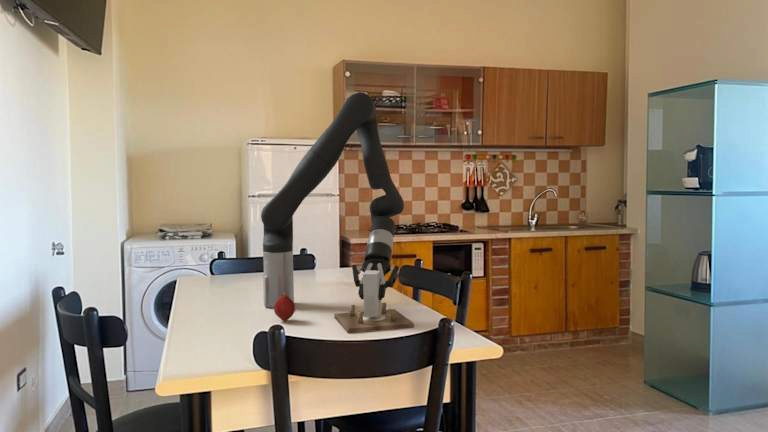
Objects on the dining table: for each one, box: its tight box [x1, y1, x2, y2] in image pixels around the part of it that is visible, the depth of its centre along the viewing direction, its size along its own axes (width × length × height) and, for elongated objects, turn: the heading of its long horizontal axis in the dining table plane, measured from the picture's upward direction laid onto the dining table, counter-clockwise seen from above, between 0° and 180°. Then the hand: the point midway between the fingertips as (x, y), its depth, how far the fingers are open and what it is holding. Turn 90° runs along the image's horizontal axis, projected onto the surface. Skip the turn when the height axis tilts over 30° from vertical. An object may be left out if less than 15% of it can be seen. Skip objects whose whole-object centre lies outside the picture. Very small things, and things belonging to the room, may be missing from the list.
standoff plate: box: [333, 302, 415, 334], centre depth 172 cm, size 18×18×4 cm
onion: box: [273, 293, 296, 322], centre depth 175 cm, size 6×6×8 cm
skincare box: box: [362, 270, 382, 317], centre depth 171 cm, size 6×4×12 cm
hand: (371, 297), depth 170 cm, fingers closed on skincare box, 4 cm apart
